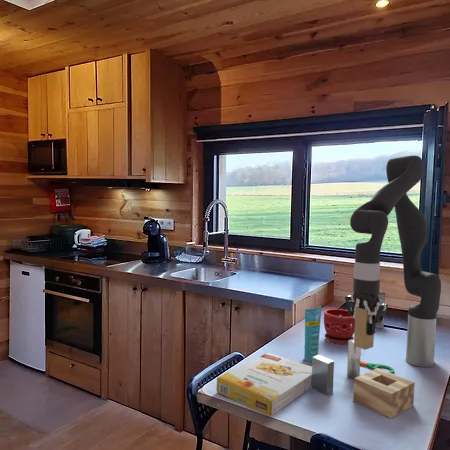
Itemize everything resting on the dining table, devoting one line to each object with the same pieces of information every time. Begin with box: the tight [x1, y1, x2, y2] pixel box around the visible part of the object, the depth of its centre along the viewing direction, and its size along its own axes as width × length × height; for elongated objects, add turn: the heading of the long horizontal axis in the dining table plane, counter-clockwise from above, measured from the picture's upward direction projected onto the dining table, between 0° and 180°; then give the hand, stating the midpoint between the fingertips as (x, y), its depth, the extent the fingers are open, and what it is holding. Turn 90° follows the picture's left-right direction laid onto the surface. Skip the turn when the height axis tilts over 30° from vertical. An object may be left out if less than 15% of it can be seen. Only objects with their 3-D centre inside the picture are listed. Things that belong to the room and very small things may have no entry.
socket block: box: [352, 368, 416, 419], centre depth 125 cm, size 12×12×7 cm
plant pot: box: [323, 308, 355, 345], centre depth 176 cm, size 13×13×12 cm
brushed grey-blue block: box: [310, 354, 335, 396], centre depth 132 cm, size 3×6×10 cm, turn 38°
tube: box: [304, 306, 322, 362], centre depth 156 cm, size 7×5×19 cm, turn 123°
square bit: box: [353, 307, 375, 351], centre depth 129 cm, size 4×4×12 cm
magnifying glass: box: [360, 360, 395, 375], centre depth 150 cm, size 15×6×2 cm, turn 52°
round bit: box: [346, 340, 362, 380], centre depth 142 cm, size 4×4×12 cm
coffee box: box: [376, 289, 386, 329], centre depth 197 cm, size 9×6×16 cm
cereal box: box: [215, 352, 312, 417], centre depth 134 cm, size 20×6×28 cm
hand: (364, 332), depth 129 cm, fingers closed on square bit, 4 cm apart
